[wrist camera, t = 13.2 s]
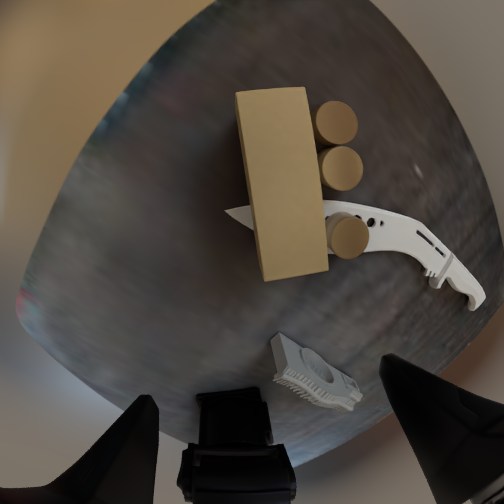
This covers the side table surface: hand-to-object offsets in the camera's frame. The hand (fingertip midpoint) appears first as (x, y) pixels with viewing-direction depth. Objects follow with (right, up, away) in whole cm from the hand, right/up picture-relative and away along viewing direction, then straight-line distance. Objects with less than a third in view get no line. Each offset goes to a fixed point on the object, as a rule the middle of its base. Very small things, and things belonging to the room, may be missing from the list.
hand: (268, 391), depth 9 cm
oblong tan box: (+1, +10, +9) cm, 13 cm away
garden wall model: (+5, -6, +15) cm, 17 cm away
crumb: (+5, +14, +8) cm, 17 cm away
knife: (+12, +4, +13) cm, 18 cm away
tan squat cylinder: (+6, +7, +10) cm, 14 cm away
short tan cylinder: (+5, +11, +9) cm, 15 cm away
